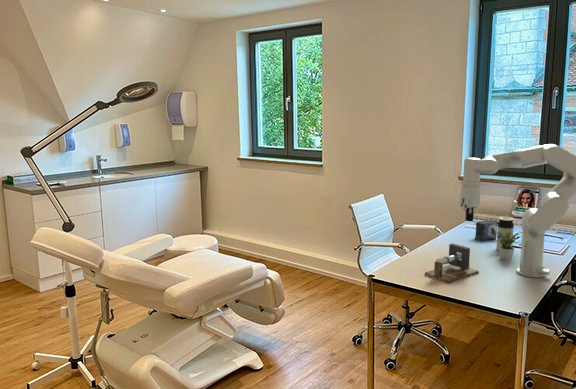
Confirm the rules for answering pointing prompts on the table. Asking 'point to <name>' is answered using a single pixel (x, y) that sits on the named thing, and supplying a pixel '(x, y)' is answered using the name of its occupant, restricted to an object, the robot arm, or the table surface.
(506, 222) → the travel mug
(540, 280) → the table surface
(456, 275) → the pipe stand
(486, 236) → the small box
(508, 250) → the house plant
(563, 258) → the table surface
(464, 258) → the grey flat upright plate
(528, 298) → the table surface
